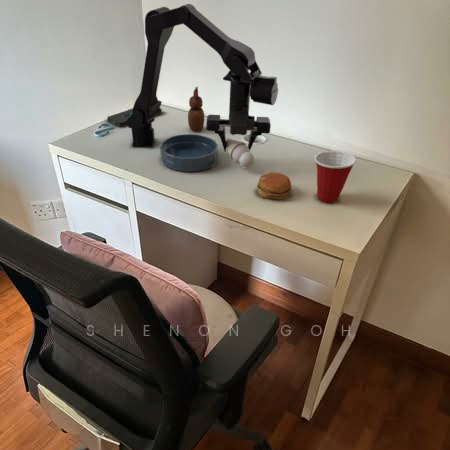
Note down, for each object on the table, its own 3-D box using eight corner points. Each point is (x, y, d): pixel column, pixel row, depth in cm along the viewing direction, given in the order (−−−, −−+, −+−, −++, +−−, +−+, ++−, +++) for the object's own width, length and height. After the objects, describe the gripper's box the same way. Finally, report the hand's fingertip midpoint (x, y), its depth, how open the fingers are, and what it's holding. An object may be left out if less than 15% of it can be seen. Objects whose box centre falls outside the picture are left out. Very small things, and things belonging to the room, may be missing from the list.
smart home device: (106, 116, 153) (148, 103, 164) (106, 121, 154) (148, 107, 165) (120, 122, 149) (162, 108, 160) (120, 127, 150) (162, 113, 161)
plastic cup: (319, 184, 124) (327, 144, 115) (352, 197, 119) (363, 156, 110) (300, 198, 117) (307, 157, 109) (334, 212, 113) (344, 170, 104)
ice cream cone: (220, 147, 134) (248, 175, 128) (210, 139, 129) (239, 168, 123) (233, 132, 132) (262, 159, 127) (223, 123, 127) (253, 151, 121)
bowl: (157, 171, 127) (156, 157, 123) (165, 146, 139) (164, 133, 136) (216, 173, 127) (216, 159, 124) (218, 148, 140) (218, 135, 136)
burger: (295, 198, 117) (298, 182, 114) (265, 203, 115) (266, 187, 112) (281, 181, 124) (282, 167, 121) (252, 186, 122) (253, 171, 119)
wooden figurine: (203, 133, 148) (203, 88, 138) (187, 133, 148) (186, 87, 138) (204, 126, 153) (204, 82, 143) (189, 125, 153) (187, 81, 142)
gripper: (205, 107, 112) (205, 162, 123) (274, 110, 113) (268, 165, 123) (207, 93, 120) (207, 146, 131) (271, 96, 121) (266, 148, 131)
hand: (236, 151), depth 129 cm, fingers closed on ice cream cone, 7 cm apart
